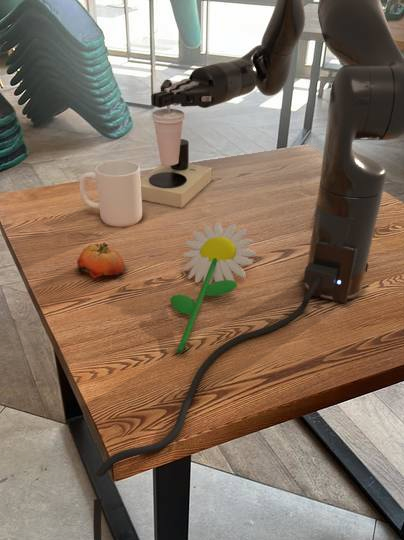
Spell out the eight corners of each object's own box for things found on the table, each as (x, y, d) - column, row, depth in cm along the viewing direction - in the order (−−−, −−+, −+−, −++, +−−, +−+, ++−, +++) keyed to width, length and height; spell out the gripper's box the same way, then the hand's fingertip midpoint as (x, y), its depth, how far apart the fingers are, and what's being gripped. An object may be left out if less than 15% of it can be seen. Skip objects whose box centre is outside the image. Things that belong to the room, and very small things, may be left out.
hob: (181, 207, 118) (181, 193, 116) (134, 198, 121) (133, 183, 119) (213, 178, 130) (213, 165, 128) (169, 171, 133) (169, 157, 131)
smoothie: (186, 157, 121) (186, 85, 112) (182, 168, 116) (182, 94, 107) (156, 155, 121) (153, 84, 112) (151, 167, 116) (148, 93, 107)
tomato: (127, 276, 93) (94, 243, 90) (97, 302, 95) (65, 271, 93) (132, 259, 100) (102, 228, 97) (104, 283, 102) (74, 254, 99)
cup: (137, 228, 110) (134, 177, 103) (77, 224, 111) (70, 173, 104) (146, 210, 116) (143, 161, 110) (88, 206, 117) (82, 157, 111)
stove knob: (191, 165, 128) (191, 138, 124) (184, 171, 125) (184, 144, 121) (174, 162, 129) (174, 136, 125) (167, 168, 126) (167, 142, 122)
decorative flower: (224, 371, 81) (261, 248, 101) (223, 347, 77) (261, 224, 97) (139, 360, 84) (192, 242, 103) (134, 336, 80) (189, 219, 100)
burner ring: (176, 190, 117) (176, 189, 117) (142, 184, 119) (142, 182, 119) (192, 177, 123) (192, 175, 122) (159, 171, 125) (159, 169, 125)
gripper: (192, 59, 120) (130, 73, 110) (241, 70, 113) (179, 86, 103) (192, 97, 125) (132, 114, 115) (239, 110, 118) (179, 129, 108)
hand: (154, 101), depth 109 cm, fingers closed on smoothie, 1 cm apart
